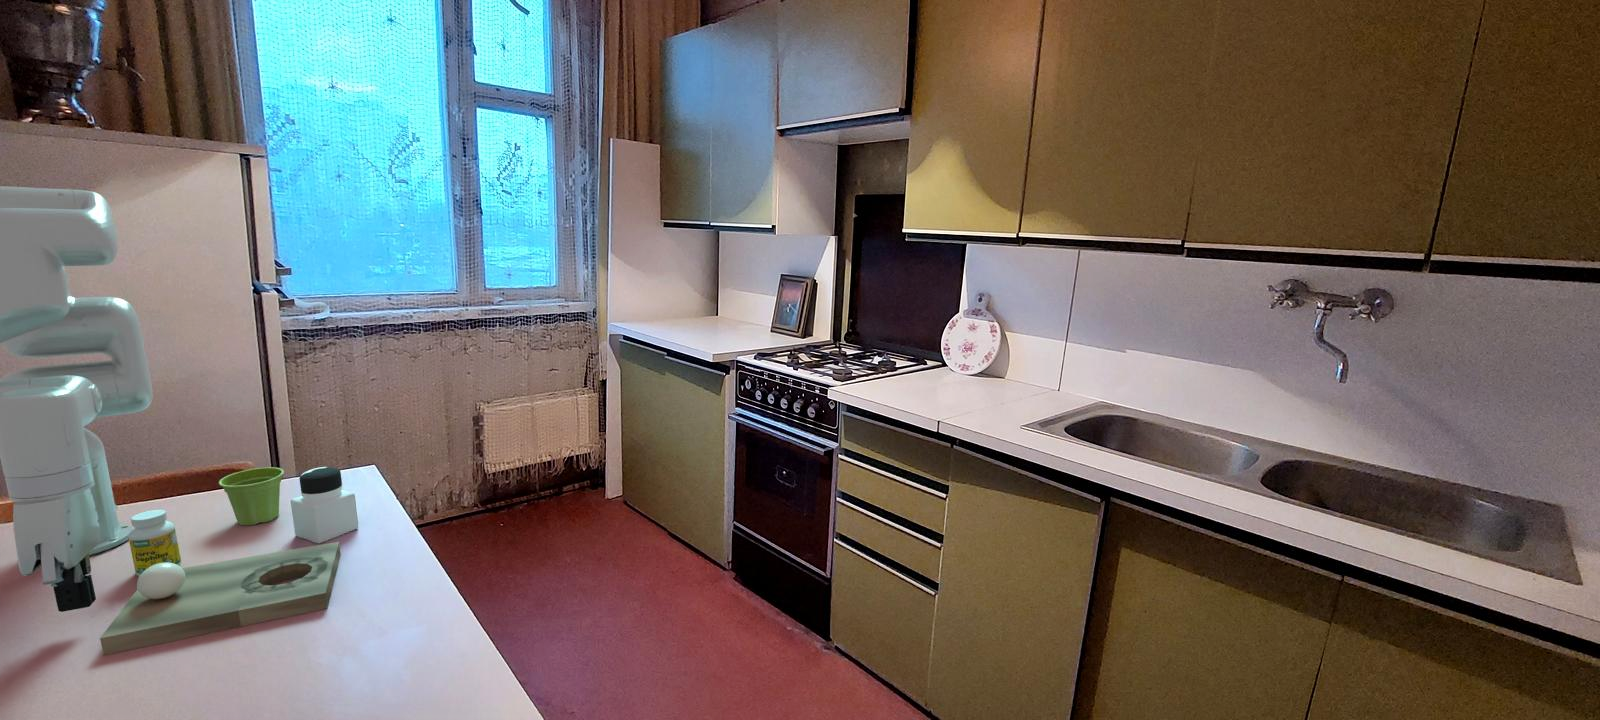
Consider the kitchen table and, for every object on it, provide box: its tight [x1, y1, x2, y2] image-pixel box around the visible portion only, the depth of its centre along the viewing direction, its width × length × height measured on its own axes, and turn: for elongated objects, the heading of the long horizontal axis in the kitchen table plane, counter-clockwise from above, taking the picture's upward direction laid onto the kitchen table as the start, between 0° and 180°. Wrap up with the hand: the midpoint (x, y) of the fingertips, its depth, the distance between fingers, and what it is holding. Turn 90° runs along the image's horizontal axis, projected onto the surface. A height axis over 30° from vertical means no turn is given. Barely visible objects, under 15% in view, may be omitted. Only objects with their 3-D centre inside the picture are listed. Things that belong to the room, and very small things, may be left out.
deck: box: [99, 541, 342, 656], centre depth 99 cm, size 18×24×2 cm
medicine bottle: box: [290, 466, 359, 545], centre depth 120 cm, size 7×7×12 cm
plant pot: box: [218, 466, 285, 526], centre depth 124 cm, size 9×9×9 cm
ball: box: [136, 562, 185, 599], centre depth 94 cm, size 5×5×5 cm
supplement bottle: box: [128, 509, 182, 577], centre depth 106 cm, size 5×5×10 cm
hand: (77, 606), depth 90 cm, fingers closed
